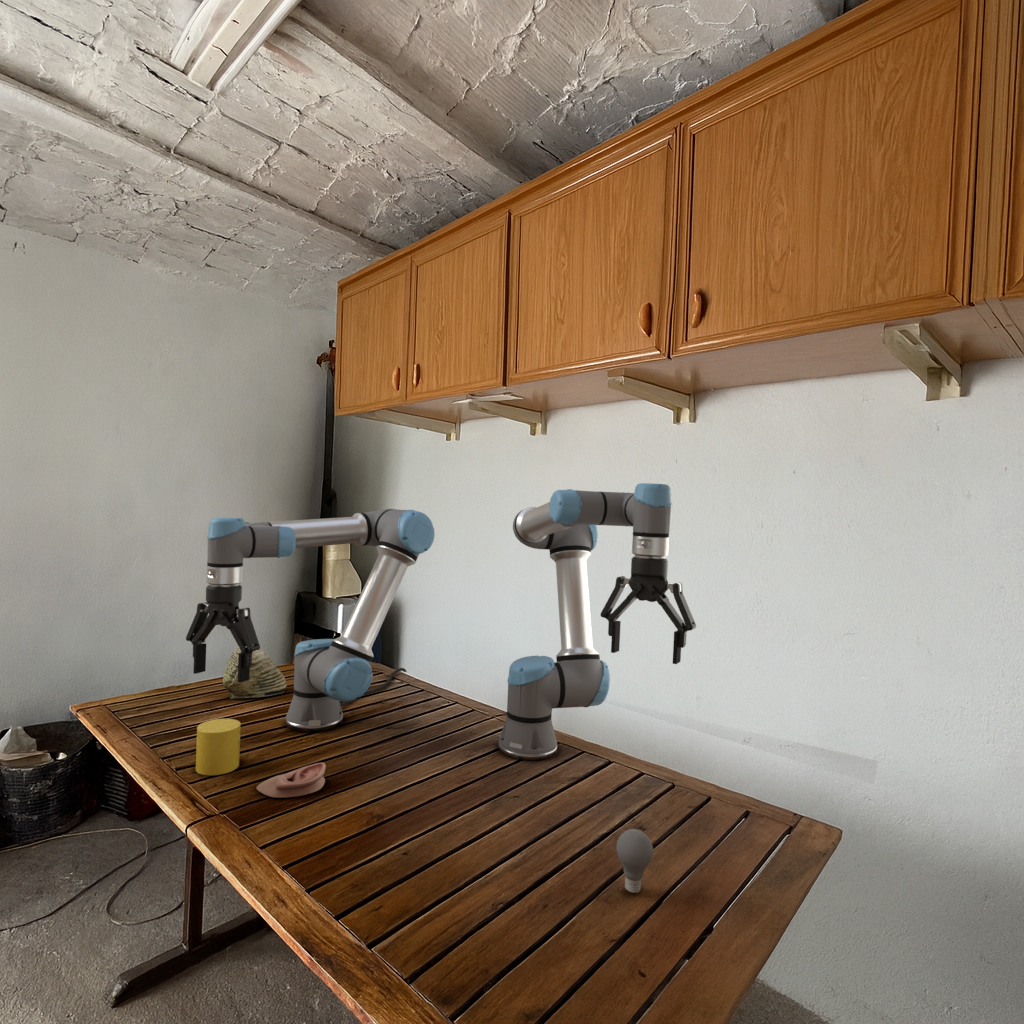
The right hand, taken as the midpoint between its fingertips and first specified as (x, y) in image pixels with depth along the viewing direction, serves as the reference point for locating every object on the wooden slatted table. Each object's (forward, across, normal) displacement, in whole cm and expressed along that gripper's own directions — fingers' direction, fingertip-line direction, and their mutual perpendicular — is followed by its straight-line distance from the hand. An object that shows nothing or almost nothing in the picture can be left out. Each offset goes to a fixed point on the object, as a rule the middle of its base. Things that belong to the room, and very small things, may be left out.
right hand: (644, 657), depth 134 cm
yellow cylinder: (+32, -86, -42) cm, 101 cm away
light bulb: (+32, +10, -28) cm, 44 cm away
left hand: (+12, -86, -42) cm, 96 cm away
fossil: (+32, -125, -5) cm, 129 cm away
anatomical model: (+32, -64, -38) cm, 82 cm away
